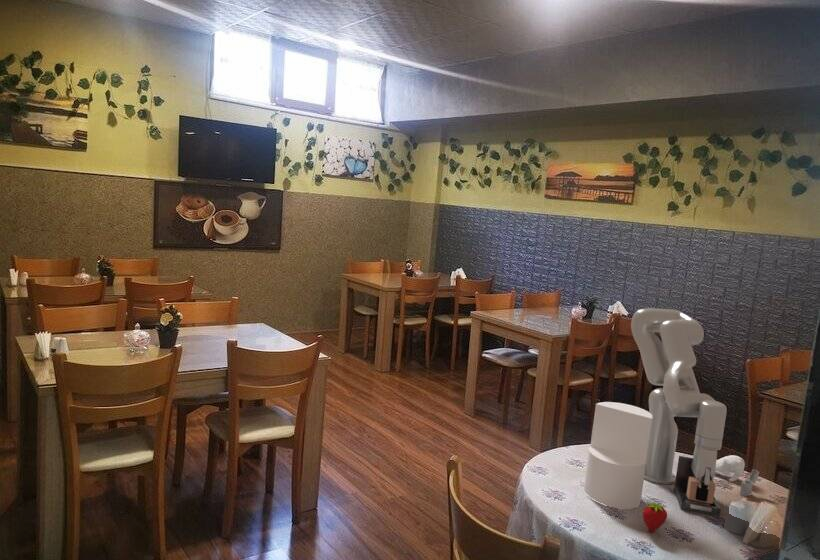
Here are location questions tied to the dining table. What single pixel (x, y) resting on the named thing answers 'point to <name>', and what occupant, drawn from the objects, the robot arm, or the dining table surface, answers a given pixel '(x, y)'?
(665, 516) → the strawberry
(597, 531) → the dining table surface
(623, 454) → the cylinder
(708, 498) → the cardboard box
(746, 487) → the lighter
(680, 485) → the rack
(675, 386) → the robot arm
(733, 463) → the white rounded lump
